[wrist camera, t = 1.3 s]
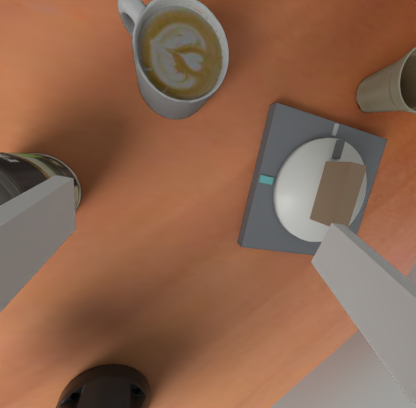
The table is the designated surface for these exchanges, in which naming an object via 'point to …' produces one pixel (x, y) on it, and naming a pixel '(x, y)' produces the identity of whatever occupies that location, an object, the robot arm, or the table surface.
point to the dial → (319, 188)
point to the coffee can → (31, 174)
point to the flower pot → (390, 87)
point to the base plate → (273, 159)
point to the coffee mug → (176, 53)
